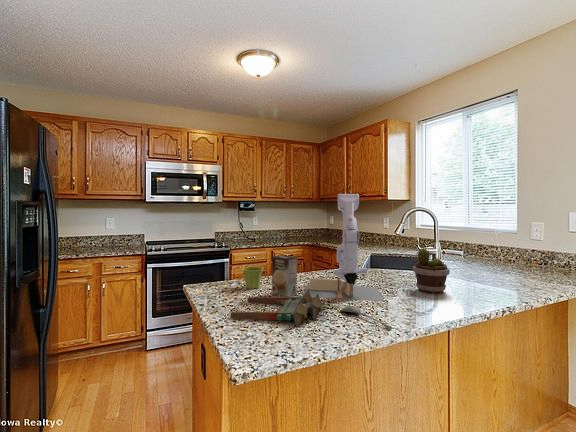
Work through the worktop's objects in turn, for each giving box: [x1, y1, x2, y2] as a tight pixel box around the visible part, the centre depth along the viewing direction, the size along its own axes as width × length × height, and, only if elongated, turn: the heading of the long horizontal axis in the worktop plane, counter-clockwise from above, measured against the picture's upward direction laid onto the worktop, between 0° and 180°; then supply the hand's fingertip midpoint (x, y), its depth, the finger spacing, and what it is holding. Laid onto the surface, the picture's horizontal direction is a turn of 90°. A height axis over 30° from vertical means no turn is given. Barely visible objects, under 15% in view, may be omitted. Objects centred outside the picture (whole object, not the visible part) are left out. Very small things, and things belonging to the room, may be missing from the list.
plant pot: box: [242, 266, 264, 290], centre depth 145 cm, size 9×9×9 cm
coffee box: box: [271, 254, 298, 297], centre depth 133 cm, size 9×6×16 cm
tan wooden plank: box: [339, 279, 353, 297], centre depth 132 cm, size 12×1×5 cm, turn 13°
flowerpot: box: [412, 246, 451, 295], centre depth 140 cm, size 14×15×20 cm
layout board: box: [301, 276, 386, 302], centre depth 135 cm, size 22×32×6 cm
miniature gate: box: [229, 289, 326, 328], centre depth 111 cm, size 27×6×30 cm
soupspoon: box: [339, 305, 393, 331], centre depth 104 cm, size 22×3×7 cm
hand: (350, 291), depth 131 cm, fingers closed
